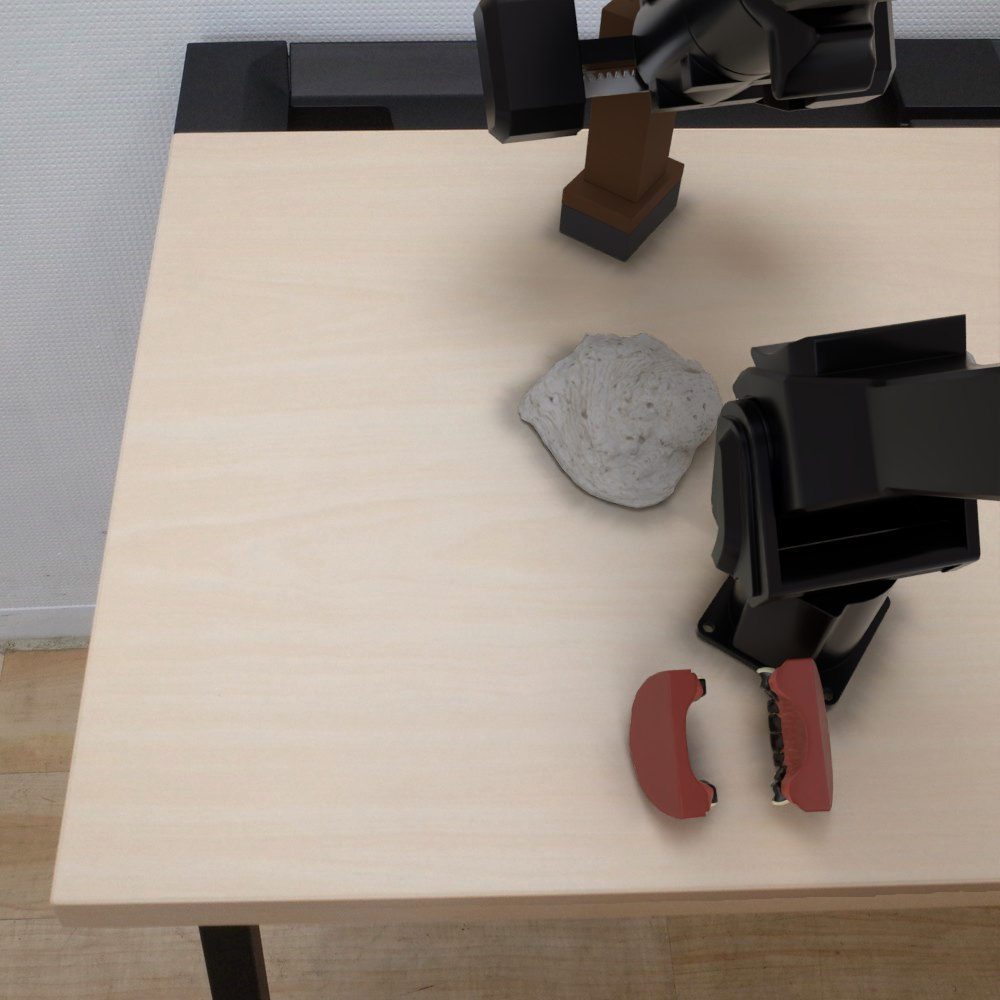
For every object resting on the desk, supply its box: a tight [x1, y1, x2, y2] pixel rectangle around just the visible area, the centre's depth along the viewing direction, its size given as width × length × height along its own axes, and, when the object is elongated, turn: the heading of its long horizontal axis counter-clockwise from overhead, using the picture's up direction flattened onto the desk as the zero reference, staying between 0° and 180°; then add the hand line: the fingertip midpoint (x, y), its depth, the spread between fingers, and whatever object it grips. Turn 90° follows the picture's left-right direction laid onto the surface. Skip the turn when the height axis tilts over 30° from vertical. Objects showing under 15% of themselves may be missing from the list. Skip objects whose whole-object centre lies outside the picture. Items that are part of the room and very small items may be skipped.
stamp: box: [558, 0, 685, 263], centre depth 58 cm, size 6×4×13 cm
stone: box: [517, 332, 723, 510], centre depth 53 cm, size 10×5×10 cm
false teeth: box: [628, 658, 834, 820], centre depth 42 cm, size 6×4×8 cm
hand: (633, 89), depth 57 cm, fingers open, 9 cm apart
